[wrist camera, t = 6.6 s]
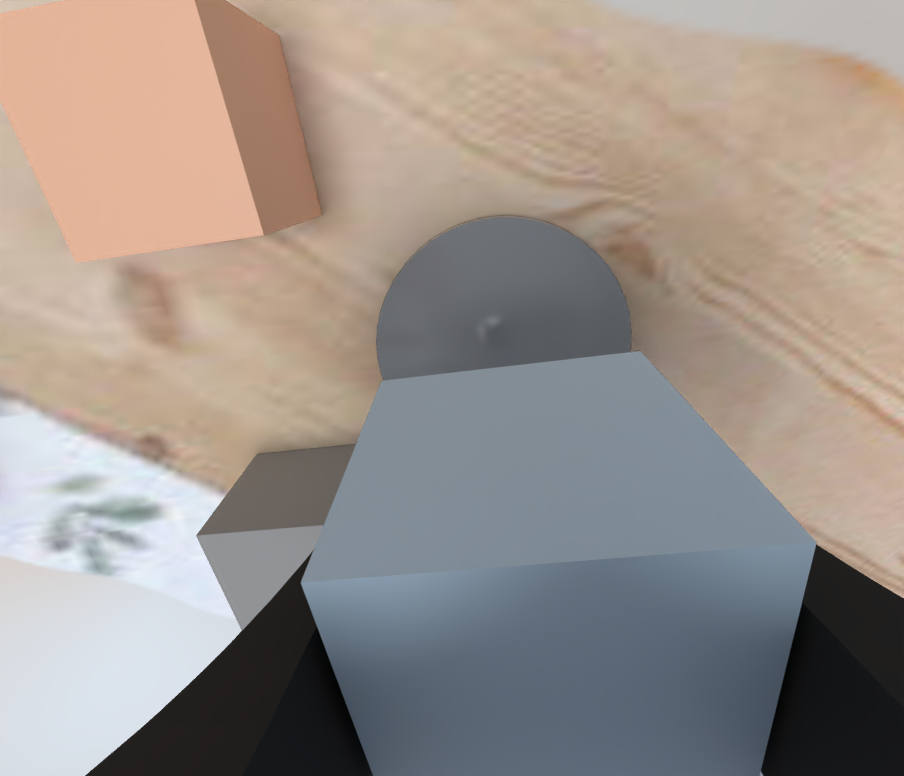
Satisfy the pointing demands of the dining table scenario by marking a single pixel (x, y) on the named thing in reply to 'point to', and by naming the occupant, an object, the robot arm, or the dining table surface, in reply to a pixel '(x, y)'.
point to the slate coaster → (500, 301)
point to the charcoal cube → (271, 523)
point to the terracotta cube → (155, 123)
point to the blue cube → (555, 579)
